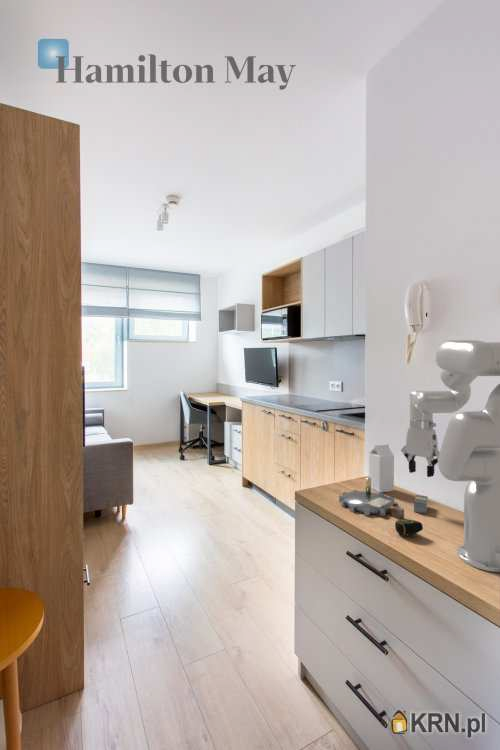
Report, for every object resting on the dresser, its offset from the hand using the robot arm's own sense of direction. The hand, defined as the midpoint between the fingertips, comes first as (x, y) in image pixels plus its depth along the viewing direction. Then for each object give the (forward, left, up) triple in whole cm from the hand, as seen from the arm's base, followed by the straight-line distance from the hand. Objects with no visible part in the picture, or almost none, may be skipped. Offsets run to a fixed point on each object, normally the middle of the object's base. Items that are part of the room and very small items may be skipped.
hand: (421, 473), depth 130 cm
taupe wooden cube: (+1, +13, -13) cm, 18 cm away
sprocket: (+13, +13, -13) cm, 23 cm away
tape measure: (-10, +19, -13) cm, 26 cm away
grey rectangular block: (0, 0, -13) cm, 13 cm away
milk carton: (+22, -7, -13) cm, 26 cm away
